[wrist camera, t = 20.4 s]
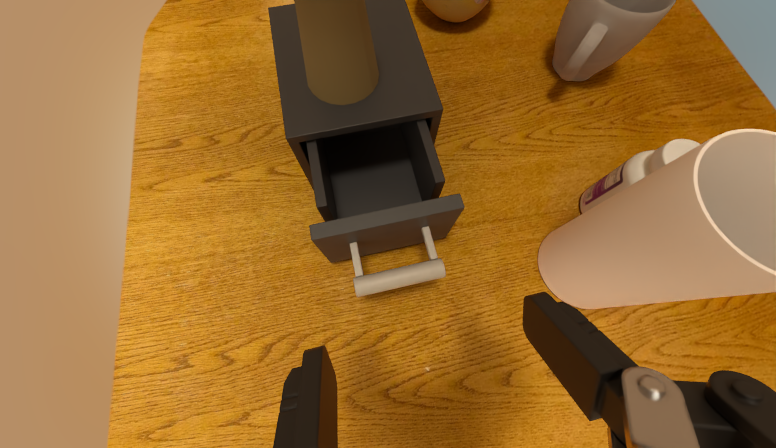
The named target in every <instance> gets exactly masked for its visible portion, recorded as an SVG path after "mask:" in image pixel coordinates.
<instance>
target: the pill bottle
mask: <svg viewBox="0 0 776 448" xmlns="http://www.w3.org/2000/svg"><path fill="white" fill-rule="evenodd" d="M699 145H701V144H699V143H697V142H695V141H692V140H688V139H676V140H672V141H670V142H668V143H667V144H665V145H664V146H662V147H660V148H658V149H657V150H651V151H645V152H641V153H639V154H636V155H635V156H633V157H631V158H630V159H629V160H627V161H626V162H625V163H623V164H622V165H620V166H619V167H618V168H616V169H615V170H613V171H612V172H611V173H609V174H608V175H606V176H605V177H604V178H602V179H601V180H599V181H598V182H596V183H595V184H594V185H592V186H591V187H590V188H588V189H587V190H586V191H585V192H584V193H583V195H582V197H581V201H580V209H581V212H582V214H583V213H585V212H586V211H588V210H590V209H592V208H593V207H595V206H597V205H598V204H600V203H602V202H603V201H605V200H607V199H609V198H610V197H612V196H614V195H615V194H617V193H619V192H620V191H622V190H624V189H626V188H627V187H629V186H631V185H632V184H634V183H636V182H637V181H639V180H641V179H643V178H644V177H646V176H648V175H649V174H651V173H653V172H655V171H656V170H658V169H660V168H661V167H663V166H665V165H666V164H668V163H670V162H672V161H673V160H675V159H677V158H678V157H680V156H682V155H684V154H685V153H687V152H689V151H690V150H692V149H694V148H696V147H697V146H699Z"/></svg>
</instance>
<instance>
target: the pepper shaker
mask: <svg viewBox="0 0 776 448" xmlns="http://www.w3.org/2000/svg"><path fill="white" fill-rule="evenodd" d="M294 1H295V7H296V13H297V20H298V26H299V32H300V39H301V45H302V51H303V57H304V64H305V70H306V76H307V83H308V87H309V88H310V90H311V92H312V93H313V94H314V95H315V96H316V97H318V98H319V99H320V100H322V101H324V102H327V103H330V104H336V105H347V104H353V103H356V102H358V101H361V100H363V99H365V98H366V97H367V96H368V95H370V94H371V93H372V92H373V91H374V89H375V87H376V85H377V84H378V79H379V71H378V66H377V61H376V56H375V50H374V45H373V40H372V35H371V30H370V25H369V20H368V15H367V10H366V4H365V0H294Z"/></svg>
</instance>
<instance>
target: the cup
mask: <svg viewBox="0 0 776 448" xmlns="http://www.w3.org/2000/svg"><path fill="white" fill-rule="evenodd" d="M538 266H539V271H540V274H541V276H542V278H543V280H544V282H545V284H546V285H547V287H548V288H549V289H550V290H551V292H552V293H553V294H554V295H556V296H557V297H558V298H559V299H561V300H562V301H564V302H565V303H567V304H569V305H572V306H574V307H578V308H582V309H598V308H609V307H619V306H630V305H641V304H652V303H662V302H673V301H684V300H694V299H705V298H716V297H727V296H737V295H748V294H759V293H769V292H776V132H772V131H767V130H759V129H739V130H733V131H729V132H725V133H723V134H720V135H718V136H716V137H714V138H711V139H710V140H708V141H706V142H704V143H702V144H701V145H699V146H697V147H696V148H694V149H692V150H690V151H689V152H687V153H685V154H684V155H682V156H680V157H678V158H677V159H675V160H673V161H672V162H670V163H668V164H666V165H665V166H663V167H661V168H660V169H658V170H656V171H655V172H653V173H651V174H649V175H648V176H646V177H644V178H643V179H641V180H639V181H637V182H636V183H634V184H632V185H631V186H629V187H627V188H626V189H624V190H622V191H620V192H619V193H617V194H615V195H614V196H612V197H610V198H609V199H607V200H605V201H603V202H602V203H600V204H598V205H597V206H595V207H593V208H592V209H590V210H588V211H586V212H585V213H583V214H581V215H580V216H578V217H576V218H574V219H573V220H571V221H569V222H568V223H566V224H564V225H563V226H561V227H559V228H557V229H556V230H554V231H552V232H551V233H550V234H548V235H547V236H546V238H545V239H544V240H543V242H542V243H541V246H540V248H539V252H538Z"/></svg>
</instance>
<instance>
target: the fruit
mask: <svg viewBox="0 0 776 448" xmlns="http://www.w3.org/2000/svg"><path fill="white" fill-rule="evenodd" d="M489 1H490V0H422V2H423V3H424V4H425V6H426V7H427V8H428V9H429V10H430V11H431V12H432V13H434V14H435V15H436V16H438V17H439V18H441V19H443V20H446V21H450V22H463V21H466V20H468V19H470V18H472V17H473V16H475V15H476V14H477V13H479V12H480V11H481V10H482V9H483V8H484V7H485V6H486V5H487V3H488V2H489Z"/></svg>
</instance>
